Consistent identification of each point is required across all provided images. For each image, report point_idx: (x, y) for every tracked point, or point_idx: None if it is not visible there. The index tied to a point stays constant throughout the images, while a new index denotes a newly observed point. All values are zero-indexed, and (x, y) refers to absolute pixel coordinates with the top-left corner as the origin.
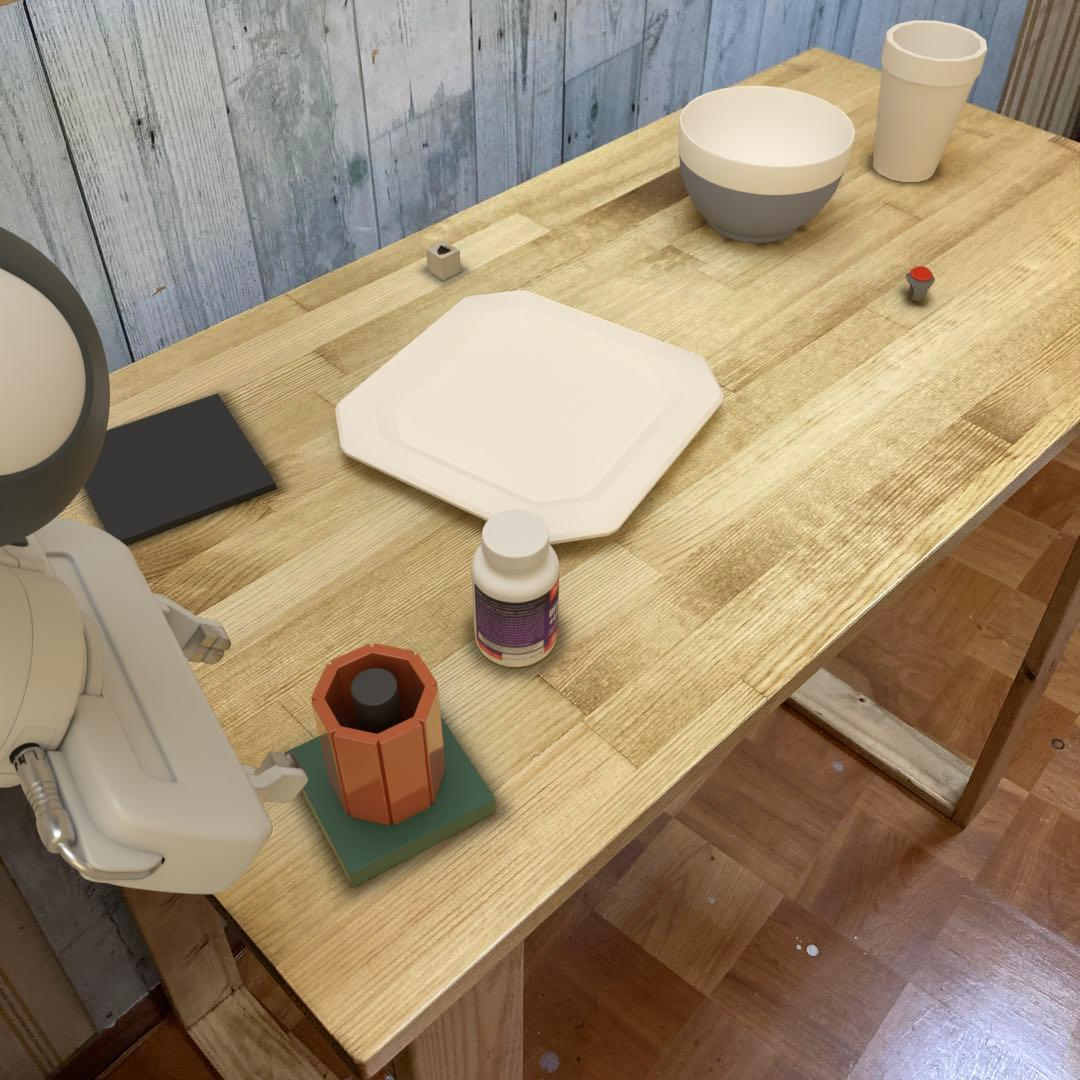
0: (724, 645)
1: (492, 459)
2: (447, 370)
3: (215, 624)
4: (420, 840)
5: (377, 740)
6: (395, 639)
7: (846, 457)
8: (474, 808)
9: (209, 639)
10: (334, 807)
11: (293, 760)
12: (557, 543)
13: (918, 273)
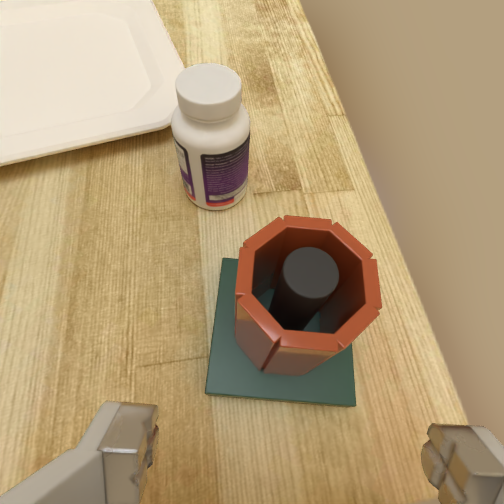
0: (302, 108)
1: (68, 107)
2: None
3: (109, 414)
4: None
5: (373, 308)
6: (154, 252)
7: (229, 3)
8: None
9: (141, 447)
10: (287, 382)
11: (458, 433)
12: None
13: None
